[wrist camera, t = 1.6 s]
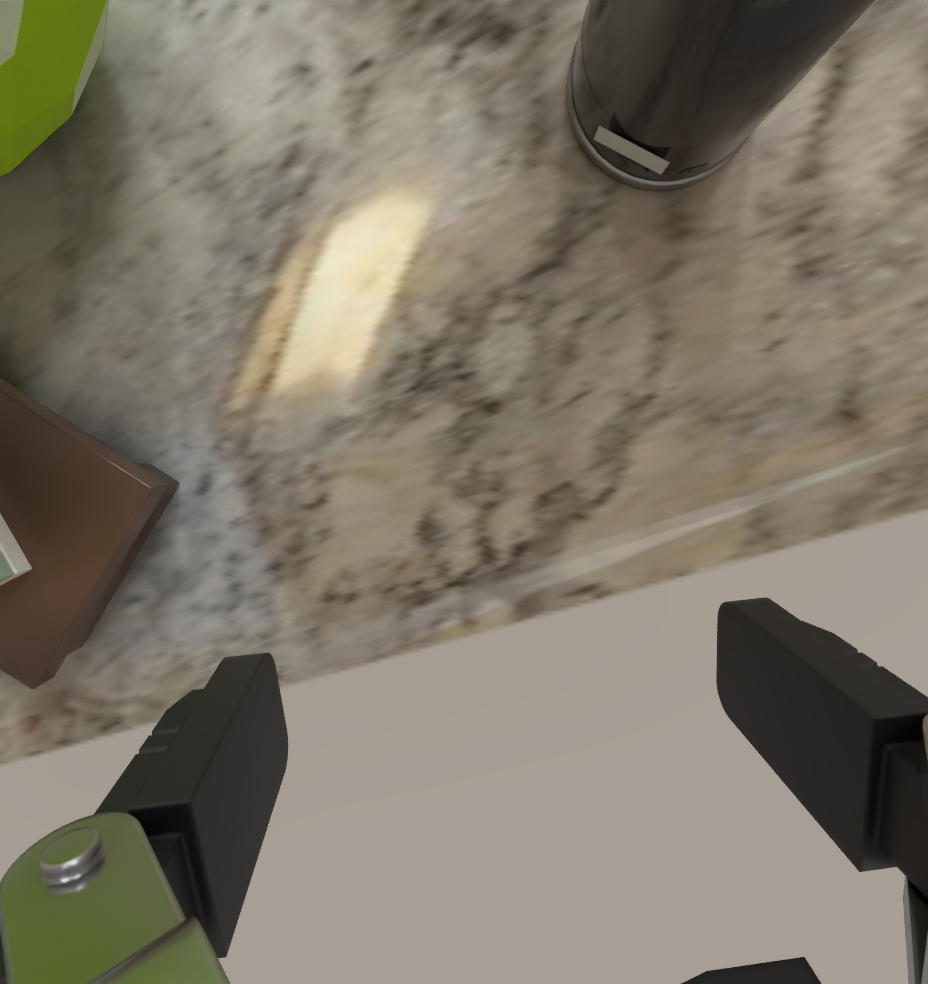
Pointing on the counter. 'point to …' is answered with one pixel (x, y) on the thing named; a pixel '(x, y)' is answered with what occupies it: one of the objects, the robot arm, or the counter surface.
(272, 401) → the counter surface
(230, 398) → the counter surface
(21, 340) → the counter surface
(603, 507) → the counter surface
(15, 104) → the melon
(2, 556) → the sage green stepped block
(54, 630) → the shoe shelf
